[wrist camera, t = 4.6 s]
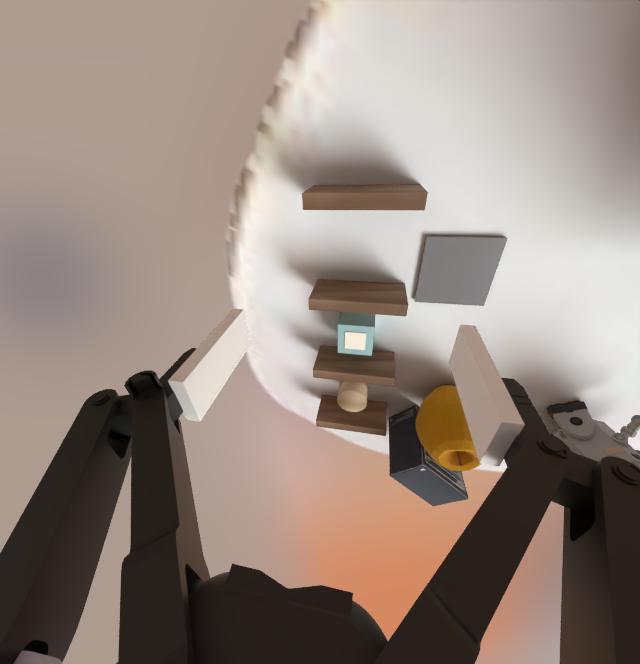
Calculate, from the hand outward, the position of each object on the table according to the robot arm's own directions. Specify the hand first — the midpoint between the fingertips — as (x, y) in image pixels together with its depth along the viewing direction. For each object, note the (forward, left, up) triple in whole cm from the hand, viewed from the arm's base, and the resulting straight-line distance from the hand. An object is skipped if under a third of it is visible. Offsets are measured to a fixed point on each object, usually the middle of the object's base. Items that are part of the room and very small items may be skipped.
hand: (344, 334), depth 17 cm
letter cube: (+11, 0, -19) cm, 22 cm away
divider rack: (+11, 0, -19) cm, 22 cm away
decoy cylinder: (+22, 0, -19) cm, 29 cm away
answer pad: (+3, +11, -19) cm, 22 cm away
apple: (+23, +14, -19) cm, 33 cm away
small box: (+32, +12, -19) cm, 39 cm away
